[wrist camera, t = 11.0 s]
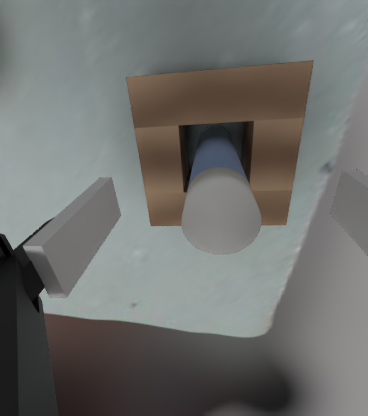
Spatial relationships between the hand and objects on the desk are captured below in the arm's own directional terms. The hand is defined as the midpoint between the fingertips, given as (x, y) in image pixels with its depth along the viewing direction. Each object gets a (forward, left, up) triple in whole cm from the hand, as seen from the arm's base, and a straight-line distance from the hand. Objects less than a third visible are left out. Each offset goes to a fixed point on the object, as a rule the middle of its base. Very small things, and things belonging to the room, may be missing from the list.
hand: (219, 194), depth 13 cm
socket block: (0, 0, -15) cm, 15 cm away
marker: (0, 0, -16) cm, 16 cm away
